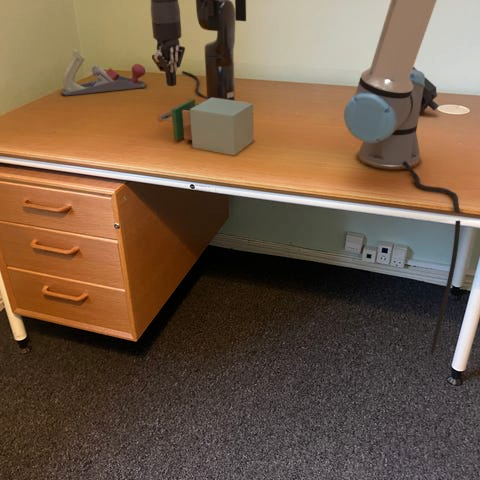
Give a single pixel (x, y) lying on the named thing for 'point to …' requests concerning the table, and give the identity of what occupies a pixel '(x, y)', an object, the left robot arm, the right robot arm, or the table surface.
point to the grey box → (222, 125)
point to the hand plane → (105, 80)
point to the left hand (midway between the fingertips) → (171, 85)
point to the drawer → (180, 119)
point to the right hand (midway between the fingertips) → (228, 25)
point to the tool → (428, 95)
